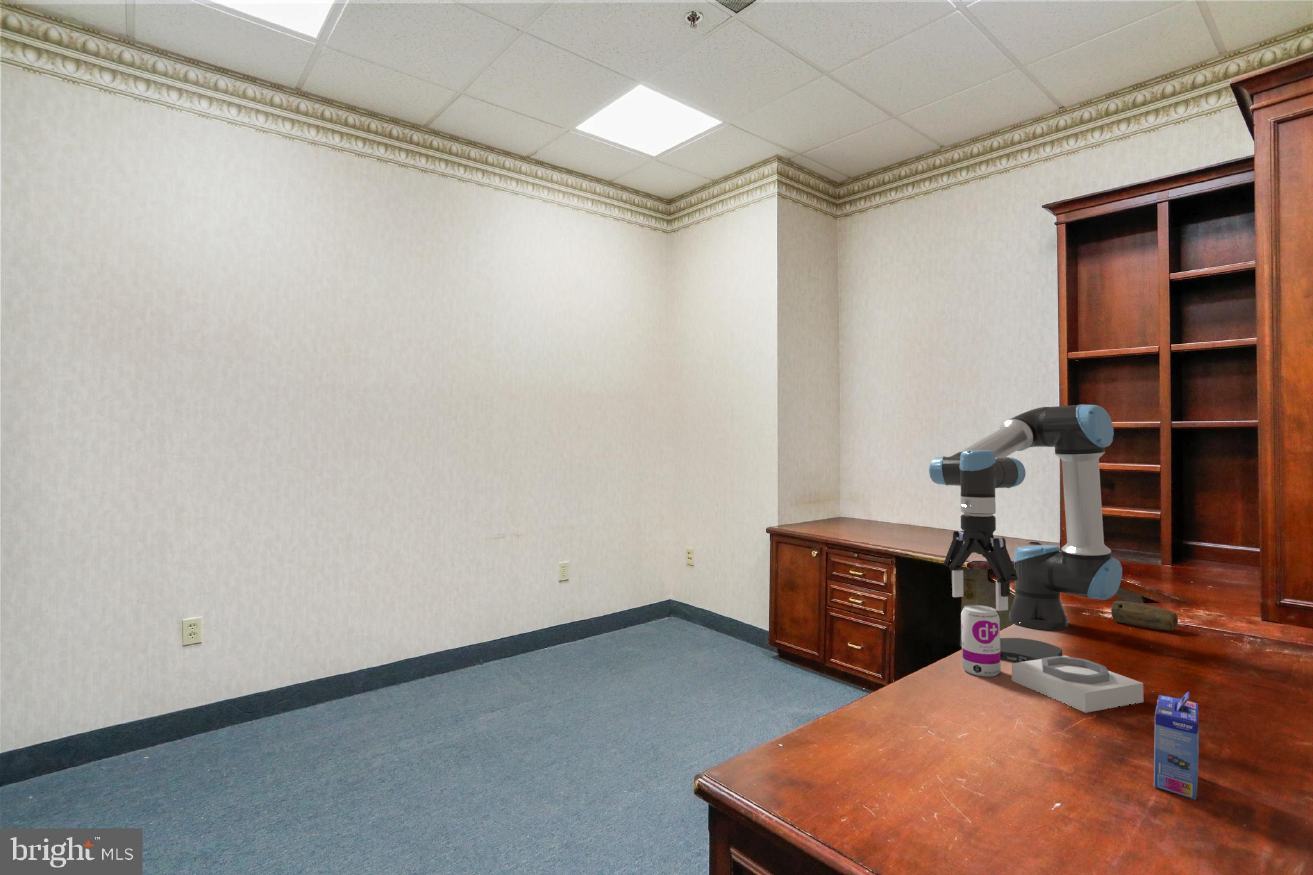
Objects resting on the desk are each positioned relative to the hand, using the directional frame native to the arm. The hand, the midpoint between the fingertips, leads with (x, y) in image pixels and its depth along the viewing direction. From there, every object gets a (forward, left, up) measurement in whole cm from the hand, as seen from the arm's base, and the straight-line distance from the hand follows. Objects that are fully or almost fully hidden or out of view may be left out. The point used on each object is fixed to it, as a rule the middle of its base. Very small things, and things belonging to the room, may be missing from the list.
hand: (979, 603), depth 151 cm
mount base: (+16, +10, -16) cm, 25 cm away
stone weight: (-13, +71, -17) cm, 74 cm away
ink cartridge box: (+49, -8, -17) cm, 52 cm away
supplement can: (0, 0, -17) cm, 17 cm away
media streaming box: (-5, +19, -17) cm, 26 cm away
